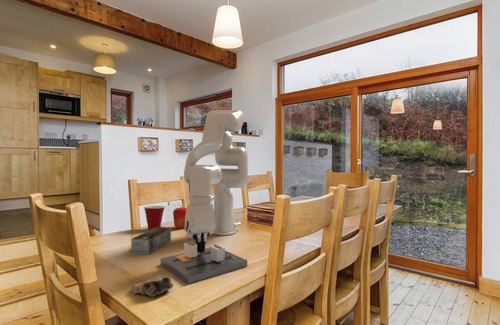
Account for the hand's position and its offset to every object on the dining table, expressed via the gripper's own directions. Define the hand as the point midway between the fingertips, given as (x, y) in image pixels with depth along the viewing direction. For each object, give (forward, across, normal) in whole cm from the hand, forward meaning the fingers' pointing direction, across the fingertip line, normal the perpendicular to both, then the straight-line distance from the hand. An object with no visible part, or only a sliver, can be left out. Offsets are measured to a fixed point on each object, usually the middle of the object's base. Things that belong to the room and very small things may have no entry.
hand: (200, 251), depth 100 cm
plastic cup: (+3, -5, -55) cm, 55 cm away
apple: (+3, -17, -49) cm, 52 cm away
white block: (0, -1, +9) cm, 9 cm away
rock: (+4, +22, +13) cm, 26 cm away
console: (+3, +2, +5) cm, 6 cm away
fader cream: (+1, +4, 0) cm, 4 cm away
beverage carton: (+4, +7, -26) cm, 28 cm away
